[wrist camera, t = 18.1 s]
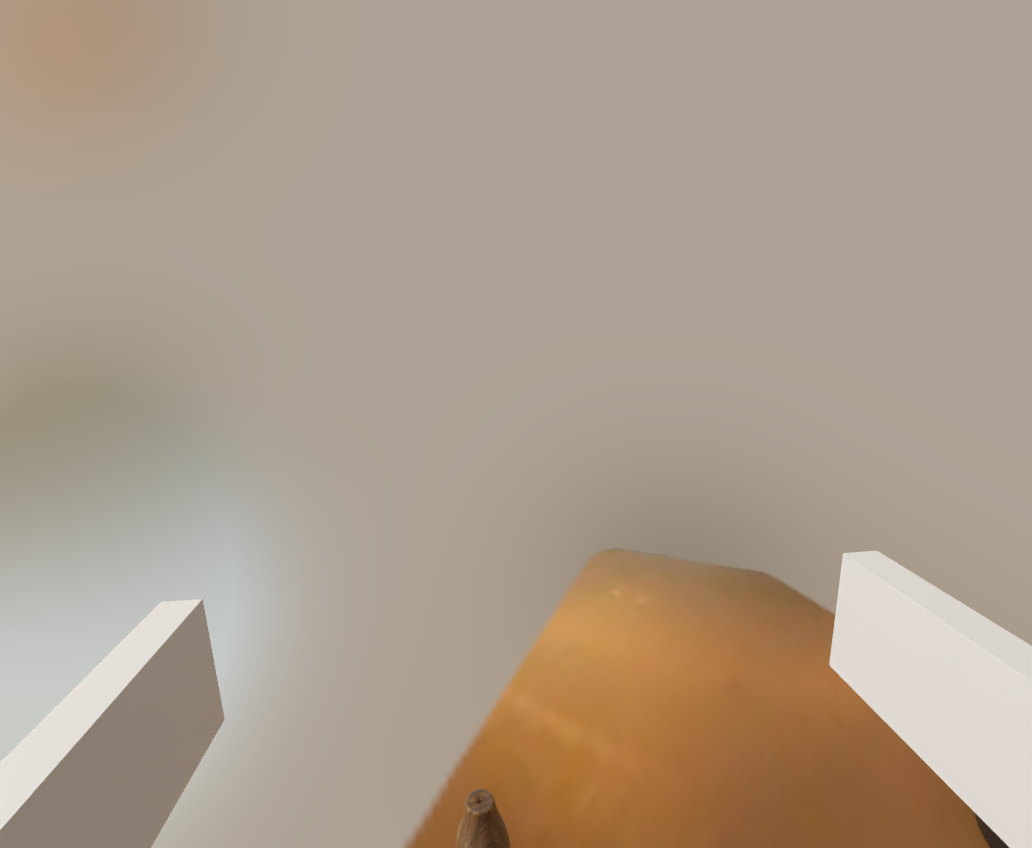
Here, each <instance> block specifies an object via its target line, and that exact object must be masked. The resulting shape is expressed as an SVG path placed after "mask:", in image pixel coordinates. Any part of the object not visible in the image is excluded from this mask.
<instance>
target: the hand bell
mask: <svg viewBox="0 0 1032 848" xmlns="http://www.w3.org/2000/svg"><path fill="white" fill-rule="evenodd" d="M455 848H510V842H509V837H508V833H507V830H506V827H505V824H504V822H503V820H502V818H501V816H500V814H499V812H498V810H497V808H496V805H495V801H494V798H493V795H492V794H491V792H489V791H488V790H485V789H476V790H474V791H472V792H471V793H470V794H469V795H468V797H467V799H466V802H465V808H464V813H463V816H462V819H461V822H460V824H459V827H458V831H457V835H456V840H455Z"/></svg>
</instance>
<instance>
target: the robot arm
mask: <svg viewBox="0 0 1032 848" xmlns="http://www.w3.org/2000/svg"><path fill="white" fill-rule="evenodd" d="M829 665H830V666H831V667H832V668H833V669H834V670H835V671H836V672H837V673H838V674H839V675H840V676H841V678H842V679H843V680H844V681H845V682H846V683H847V684H848V685H849V686H850V687H851V688H852V689H853V690H854V691H855V692H856V693H857V694H858V695H859V696H860V697H861V698H862V699H863V700H864V701H865V702H866V703H867V704H868V705H869V706H870V707H871V708H872V709H873V710H874V711H875V712H876V713H877V714H878V715H879V716H880V717H881V718H882V719H883V720H884V721H885V722H886V723H887V724H888V725H889V726H890V727H891V728H892V729H893V730H894V731H895V732H896V733H897V734H898V735H899V736H900V737H901V738H902V739H903V740H904V741H905V742H906V743H907V744H908V745H909V746H910V747H911V748H912V749H913V750H914V751H915V752H916V753H917V754H918V755H919V756H920V757H921V758H922V759H923V760H924V762H925V763H926V764H927V765H928V766H929V767H930V768H931V769H932V770H933V771H934V772H935V773H936V774H937V775H938V776H939V777H940V778H941V779H942V780H943V781H944V782H945V783H946V784H947V785H948V786H949V787H950V788H951V789H952V790H953V791H954V792H955V793H956V794H957V795H958V796H959V797H960V798H961V799H962V800H963V801H964V802H965V803H966V804H967V805H968V806H969V807H970V808H971V809H972V810H973V811H974V812H975V816H976V820H977V823H978V825H979V827H980V830H981V832H982V834H983V836H984V837H985V839H986V841H987V842H988V844H989V846H990V847H991V848H1032V646H1030V645H1029V644H1027V643H1026V642H1024V641H1022V640H1021V639H1019V638H1017V637H1016V636H1014V635H1013V634H1011V633H1009V632H1008V631H1006V630H1005V629H1003V628H1001V627H1000V626H998V625H997V624H995V623H993V622H992V621H990V620H988V619H987V618H985V617H984V616H982V615H980V614H979V613H977V612H975V611H974V610H972V609H970V608H969V607H967V606H965V605H964V604H962V603H961V602H959V601H958V600H956V599H954V598H953V597H951V596H949V595H948V594H946V593H945V592H943V591H941V590H940V589H938V588H937V587H935V586H933V585H932V584H930V583H928V582H927V581H925V580H923V579H922V578H920V577H919V576H917V575H915V574H913V573H912V572H910V571H909V570H907V569H906V568H904V567H902V566H901V565H899V564H898V563H896V562H894V561H893V560H891V559H889V558H888V557H886V556H884V555H883V554H881V553H880V552H878V551H868V552H855V553H843V559H842V567H841V575H840V584H839V592H838V600H837V608H836V616H835V624H834V632H833V640H832V648H831V656H830V664H829ZM223 721H224V714H223V709H222V703H221V698H220V692H219V687H218V682H217V676H216V670H215V665H214V659H213V654H212V649H211V643H210V638H209V632H208V627H207V621H206V616H205V610H204V605H203V600H202V599H197V600H182V601H168V602H161V603H160V604H159V605H158V606H157V607H156V608H155V609H153V610H152V612H150V614H148V616H146V617H145V618H144V619H143V621H141V623H140V624H138V625H137V626H136V628H134V630H132V631H131V632H130V633H129V634H128V635H127V636H126V637H125V638H124V640H122V641H121V643H119V645H117V646H116V647H115V648H114V649H113V650H112V651H111V652H110V653H109V655H107V656H106V657H105V658H104V660H102V661H101V662H100V663H99V664H98V665H97V666H96V667H95V668H94V670H92V671H91V672H90V673H89V674H88V675H87V676H86V677H85V678H84V679H83V680H82V681H81V682H80V683H79V684H78V685H77V686H76V687H75V688H74V689H73V690H72V691H71V692H70V693H69V694H68V695H67V696H66V697H65V698H64V700H62V701H61V702H60V703H59V704H58V705H57V706H56V707H55V708H54V709H53V710H52V711H51V712H50V713H49V714H48V715H47V716H46V717H45V718H44V719H43V720H42V721H41V722H40V723H39V724H38V725H37V726H36V727H35V728H34V729H33V730H32V731H31V732H30V733H29V734H28V735H27V736H26V737H25V738H24V739H23V740H22V741H21V742H20V743H19V744H18V745H17V746H16V747H15V748H14V749H13V750H12V751H11V752H10V753H9V754H8V755H7V756H6V757H5V758H4V759H3V760H2V761H1V762H0V848H151V846H152V845H153V843H154V841H155V839H156V838H157V836H158V834H159V832H160V831H161V829H162V827H163V825H164V824H165V822H166V820H167V818H168V817H169V815H170V813H171V811H172V810H173V808H174V806H175V805H176V803H177V801H178V799H179V798H180V796H181V794H182V792H183V791H184V789H185V787H186V785H187V784H188V782H189V780H190V778H191V776H192V775H193V773H194V771H195V770H196V768H197V766H198V764H199V763H200V761H201V759H202V757H203V756H204V754H205V752H206V750H207V749H208V747H209V745H210V743H211V742H212V740H213V738H214V737H215V735H216V733H217V731H218V730H219V728H220V726H221V724H222V723H223Z"/></svg>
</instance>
